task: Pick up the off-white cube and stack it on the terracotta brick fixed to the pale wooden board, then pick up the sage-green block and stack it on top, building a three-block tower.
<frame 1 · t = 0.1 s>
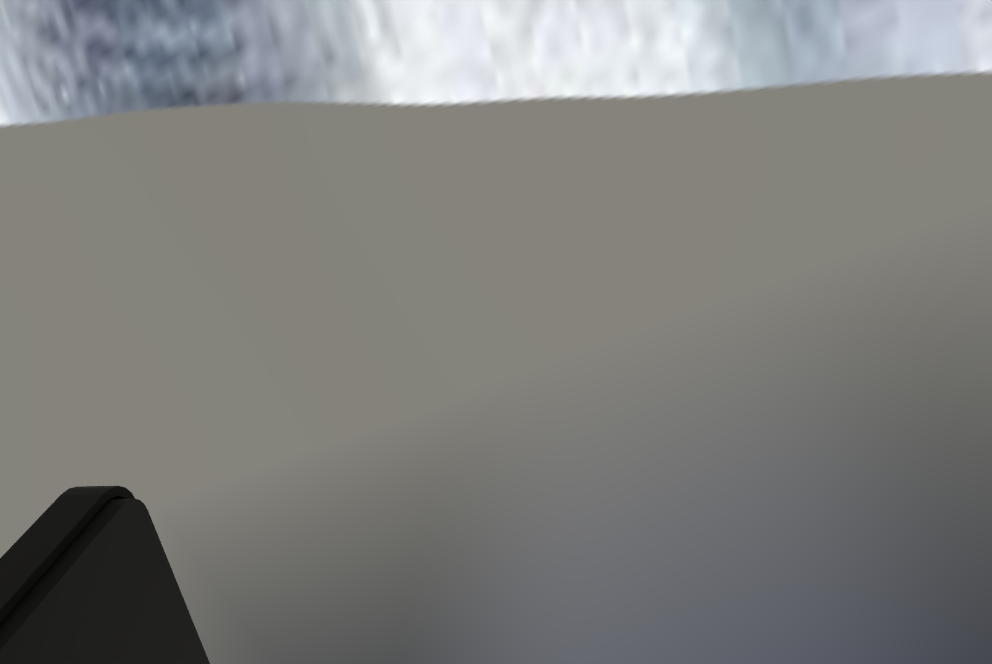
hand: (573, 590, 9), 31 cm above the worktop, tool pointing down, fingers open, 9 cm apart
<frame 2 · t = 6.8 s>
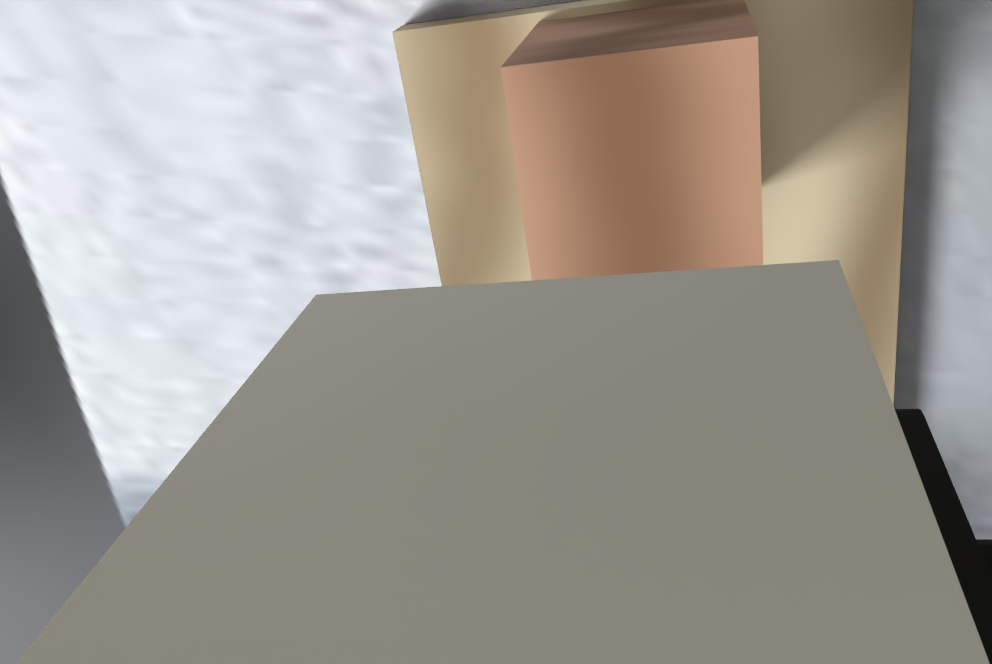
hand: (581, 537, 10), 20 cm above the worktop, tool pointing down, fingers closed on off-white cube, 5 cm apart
base board: (667, 362, 31), on the worktop
off-white cube: (588, 490, 11), point 19 cm above the worktop, touching gripper
when the fingers open (9 cm above the worktop, at t = 9.1 s): off-white cube stays where it is, resting on base board.
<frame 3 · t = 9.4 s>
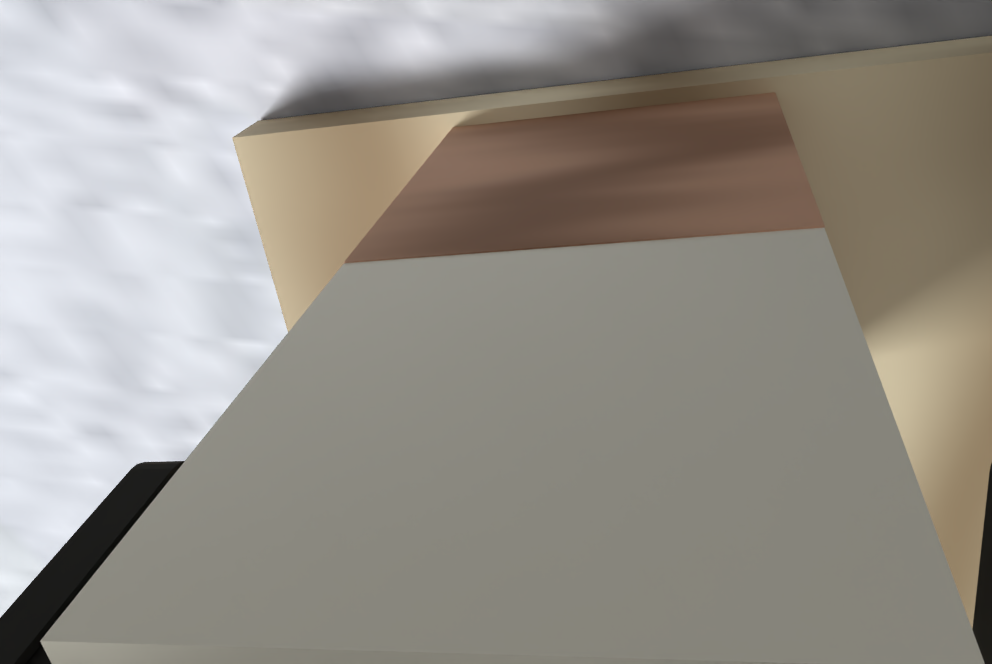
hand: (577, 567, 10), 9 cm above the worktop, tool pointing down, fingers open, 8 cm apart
base board: (659, 583, 22), on the worktop
off-white cube: (594, 446, 12), point 7 cm above the worktop, touching base board
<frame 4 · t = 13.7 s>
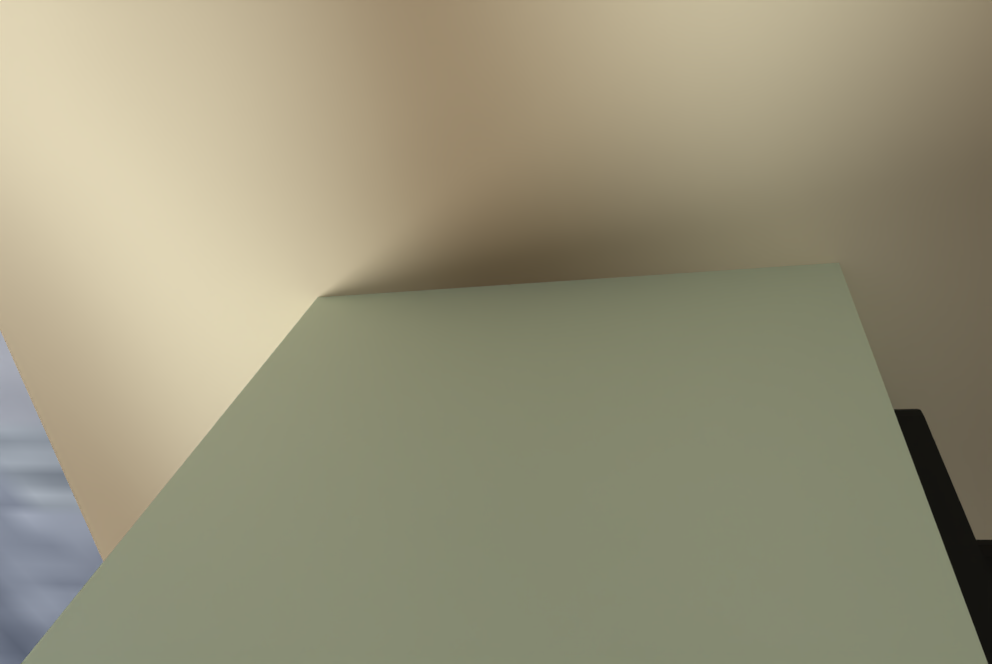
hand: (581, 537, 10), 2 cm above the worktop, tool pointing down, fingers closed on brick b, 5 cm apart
brick b: (589, 492, 11), point 1 cm above the worktop, touching base board, gripper
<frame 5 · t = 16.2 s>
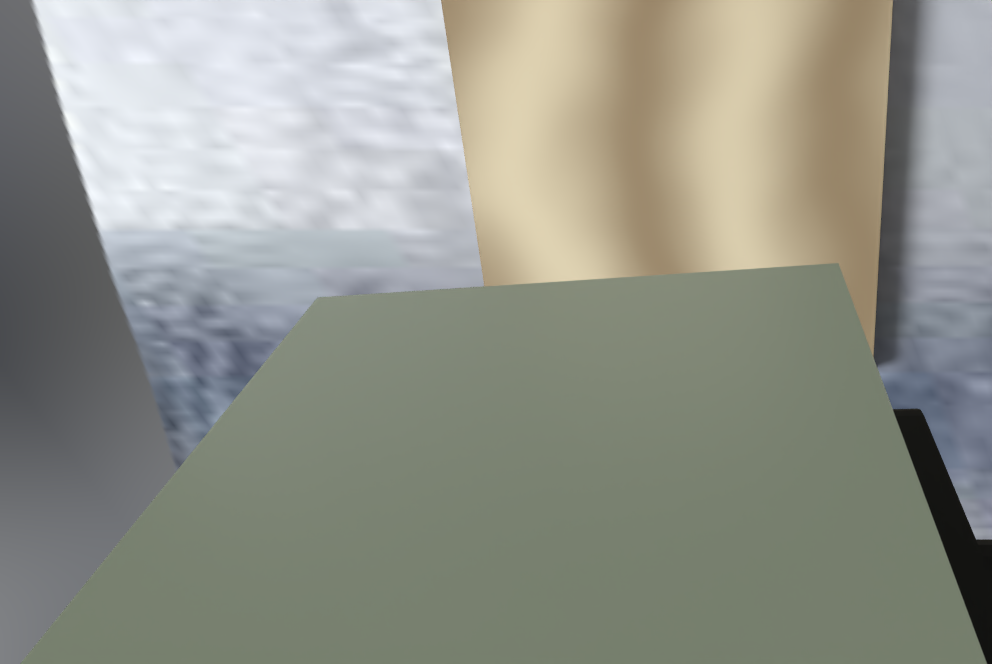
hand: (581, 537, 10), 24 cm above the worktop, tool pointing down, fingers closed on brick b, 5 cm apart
base board: (662, 66, 31), on the worktop
brick b: (588, 493, 11), point 23 cm above the worktop, touching gripper
when the fingers open (15 cm above the worktop, at t = 18.8 s): brick b stays where it is, resting on off-white cube.
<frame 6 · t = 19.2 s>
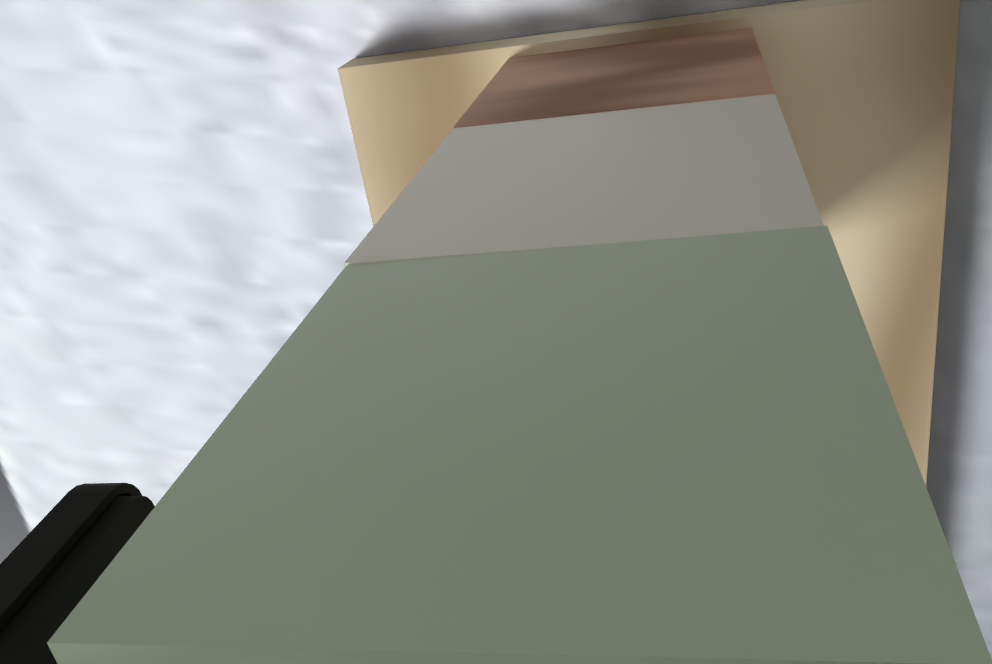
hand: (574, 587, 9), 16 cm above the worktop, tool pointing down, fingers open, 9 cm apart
base board: (663, 440, 27), on the worktop
brick b: (598, 446, 12), point 13 cm above the worktop, touching off-white cube
off-white cube: (622, 259, 17), point 7 cm above the worktop, touching base board, brick b
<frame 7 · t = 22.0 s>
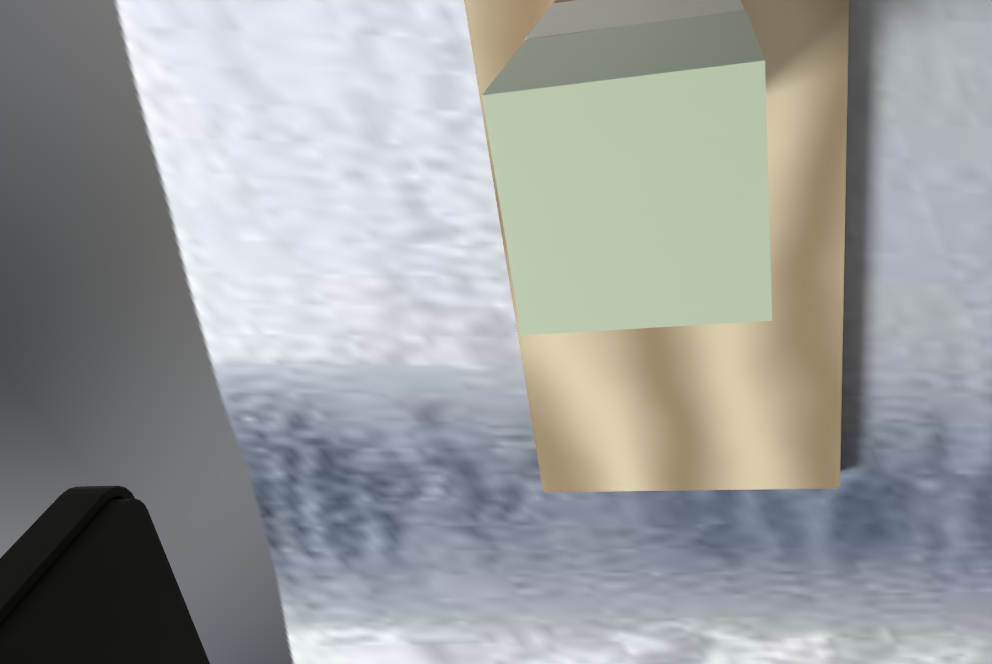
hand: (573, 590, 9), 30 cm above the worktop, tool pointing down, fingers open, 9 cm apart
base board: (669, 250, 40), on the worktop
brick b: (642, 131, 24), point 13 cm above the worktop, touching off-white cube
off-white cube: (647, 80, 29), point 7 cm above the worktop, touching base board, brick b
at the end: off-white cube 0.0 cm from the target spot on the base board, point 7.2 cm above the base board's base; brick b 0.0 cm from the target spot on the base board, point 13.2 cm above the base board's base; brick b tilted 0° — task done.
